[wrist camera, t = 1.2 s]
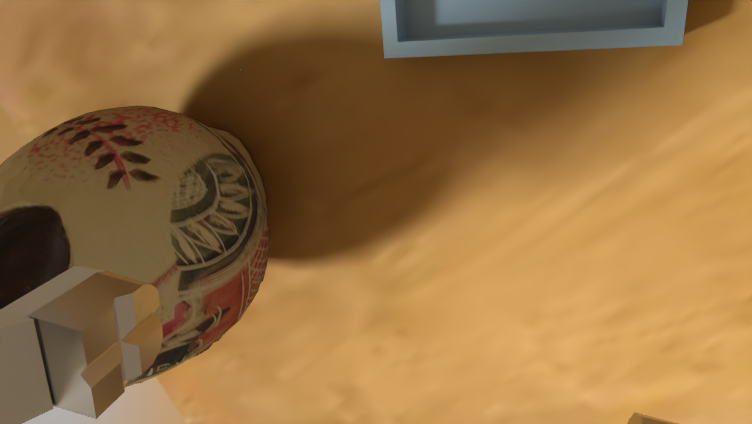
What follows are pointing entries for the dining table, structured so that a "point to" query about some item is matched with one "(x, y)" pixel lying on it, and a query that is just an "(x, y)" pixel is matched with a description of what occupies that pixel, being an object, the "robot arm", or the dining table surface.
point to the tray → (527, 25)
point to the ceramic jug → (140, 218)
